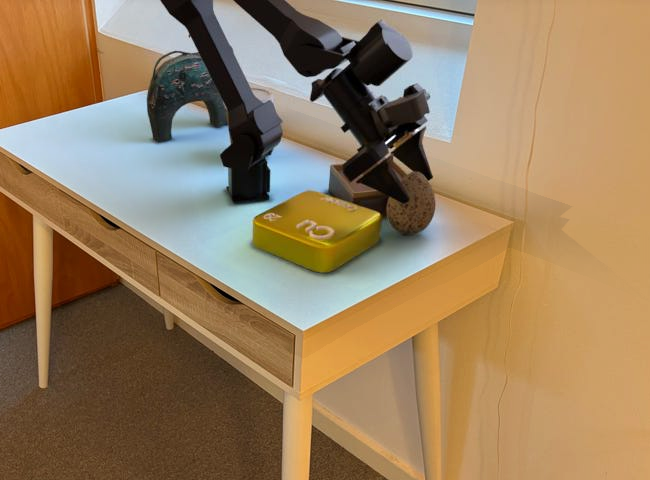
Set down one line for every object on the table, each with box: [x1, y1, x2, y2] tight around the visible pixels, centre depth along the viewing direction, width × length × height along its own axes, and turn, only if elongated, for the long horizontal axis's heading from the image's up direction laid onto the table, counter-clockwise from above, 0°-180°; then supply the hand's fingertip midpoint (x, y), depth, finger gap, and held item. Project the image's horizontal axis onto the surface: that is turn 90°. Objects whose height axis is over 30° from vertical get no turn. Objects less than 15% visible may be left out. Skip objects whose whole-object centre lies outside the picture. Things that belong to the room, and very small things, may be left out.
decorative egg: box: [386, 171, 436, 236], centre depth 109 cm, size 7×7×10 cm
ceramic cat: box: [146, 33, 235, 143], centre depth 147 cm, size 20×6×20 cm, turn 122°
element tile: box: [252, 189, 383, 274], centre depth 110 cm, size 15×15×5 cm
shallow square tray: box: [328, 159, 408, 218], centre depth 120 cm, size 11×12×5 cm
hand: (419, 190), depth 108 cm, fingers open, 9 cm apart
